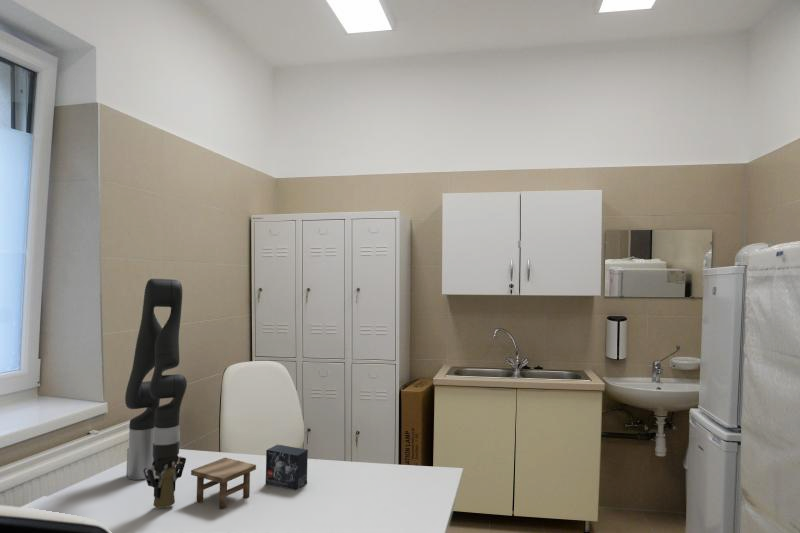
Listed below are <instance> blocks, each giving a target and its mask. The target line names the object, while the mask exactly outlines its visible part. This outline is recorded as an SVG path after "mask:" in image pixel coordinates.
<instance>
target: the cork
mask: <svg viewBox="0 0 800 533" xmlns="http://www.w3.org/2000/svg"><path fill="white" fill-rule="evenodd" d="M156 475H157V476H161V474H159V473H156ZM163 476H164V479H163V481H162V485H161V487H162V489H161V496H160V499H159V498H155V497H154V500H153V506H154V507H155V508H167V507H171V506H173V505H175V503H176V499H175V491H174V488H173V479H172V477H173V476H174V469H173V468H167V470H166V471H165V473H164V475H163Z"/></svg>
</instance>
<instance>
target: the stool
mask: <svg viewBox="0 0 800 533" xmlns="http://www.w3.org/2000/svg"><path fill="white" fill-rule="evenodd" d="M256 469H257V464H254V463H249V462H246V461H242V460H236V459H234V458H233V459H232V458H229V457H222V458H220V459H218V460H215V461H212V462H209V463H207V464H205V465H204V464H203V465H202V466H201V465H200V466H199V467H195V468H193V469H191V470H190V475H191V476H194V477H196V503H198V504H199V503H202V502H204V491H205V490H207V489H209V488H212V487H214V486H216V485H218V484H219V501H218V502H219V503H218V504H219V506H218V508H219V510H225V509H226V508H227V497H229V496H230V495H233V494H235V493H236V492H239V491H241V490H242V498H245V499H248V498H250V494H251V493H250V490H251V489H250V488H251V486H250V485H251V472H253V471H256ZM242 476H243V483H240V484H238V485H235V486H233V487H231V488H229V489H228V482H230V481H232V480H235V479H237V478H239V477H242ZM205 480H209V481H207V482H206V483H204V482H205Z"/></svg>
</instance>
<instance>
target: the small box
mask: <svg viewBox="0 0 800 533" xmlns="http://www.w3.org/2000/svg"><path fill="white" fill-rule="evenodd" d="M308 452H309V450H308V449H306V448H300V447H294V446H290V445H289V446H288V445H283V444H276V445H274V446H272V447H270V448H267V449H266V454H265V464H266V465H265V485H269V486H274V487H278V488H279V487H280V488H284V489H289V490H294V491H298V490H299V489H301V488H303V487H304V486H306V485H307V484H308Z"/></svg>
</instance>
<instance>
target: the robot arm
mask: <svg viewBox="0 0 800 533" xmlns="http://www.w3.org/2000/svg"><path fill="white" fill-rule="evenodd" d="M182 307H183V286H182V283H181V281H180V280H178V279H171V278H170V279H168V278H149V280H147V283H146V284H145V289H144V295H143V305H142V313H141V320H140V325H139V329H138V334H137V339H136V345H135V351H134V356H133V363H132V368H131V372H130V375H129V380H128V383H127V387H126V390H125V396H124V402H125V405H126V407H127V408H128V409H129V410H138V409H139V410H140V409H145V408H146V409H145V410H144V411H143V412H142V413H140V414H138V415H136V416H134V417H132V418H131V419H130V420H129V423H128V424H129V426H128V427H129V428H128V429H129V431H128V433H129V434H128V436H129V437H128V448H127V449H126V450H127V451H126V476H127V478H128V479H130V480H134V481H135V480H137V481H138V480H139V481H140V480H145V481H146V484H147V486H148V487H152V488H153V497H154V499H155V498H159V499H160V496H161V489H162V487H161V485H162V481H163V479H164V476H163V475H164V473H165V471H166V470H167V468H173V469H174V476H173V477H172V479H173V488H174V492H176V482H177V480H178V479H179V478H181V477H182V474H183V472H184V469H185V465H186V462H187V458H186V457H183V456H179V454H180V438H181V437H180V436H181V432H180V430H181V429H180V415H181V414H180V413H181V412H180V411H181V406H182V402H183V399H184V397H185V393H186V390H187V386H188V382H187V379H186V377H185V375H183V374H178V373H177V374H164V375H163V373H164V372H165V371H168V370H171V369H174V368H177V367H178V366H179V365H180V344H179V343H180V341H179V340H180V327H181V316H182ZM155 308H170V313H169V316H168V319H167V321H166V323H164V325H163V327H162V326H161V324H160V323H159V321H158V318H157V317H156V315H155V314H156V313H155ZM153 369H154V370H153ZM152 370H153V373H152V375H151V376H152V377H151V380H150V381H149V380H146V381H144V379H145V377H146V376H147V375H148V374H149V373H150V372H151V371H152ZM170 398H171V401H169V402H168V403H166V404H162V405H160V402H161V399H162V400H163V399H170ZM156 473H159V474H161V476H157V475H156Z"/></svg>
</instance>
